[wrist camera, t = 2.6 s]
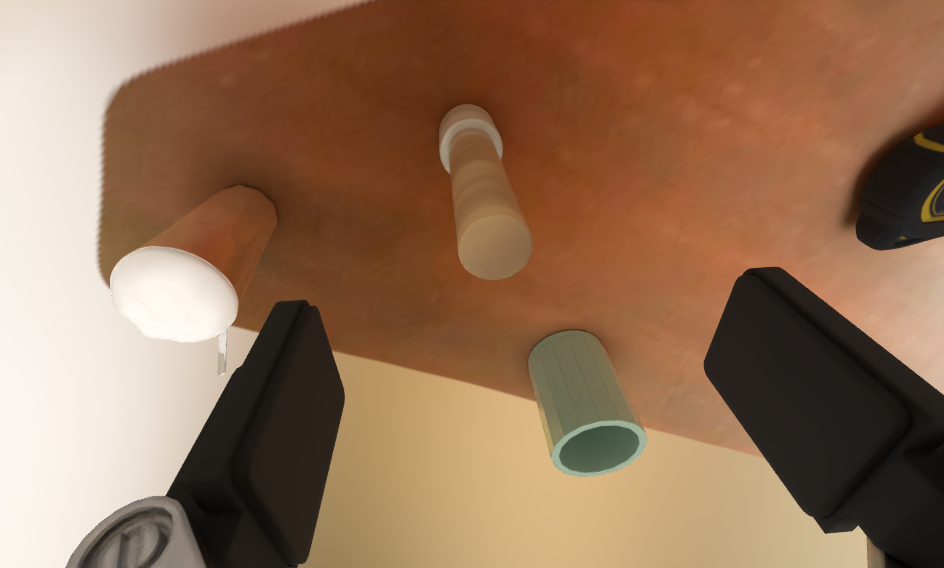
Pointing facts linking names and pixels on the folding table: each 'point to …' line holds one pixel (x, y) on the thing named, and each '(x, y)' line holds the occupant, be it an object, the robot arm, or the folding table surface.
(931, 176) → the tape measure
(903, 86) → the folding table surface
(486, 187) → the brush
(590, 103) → the folding table surface
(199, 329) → the milkshake
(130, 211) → the folding table surface
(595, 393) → the cup
